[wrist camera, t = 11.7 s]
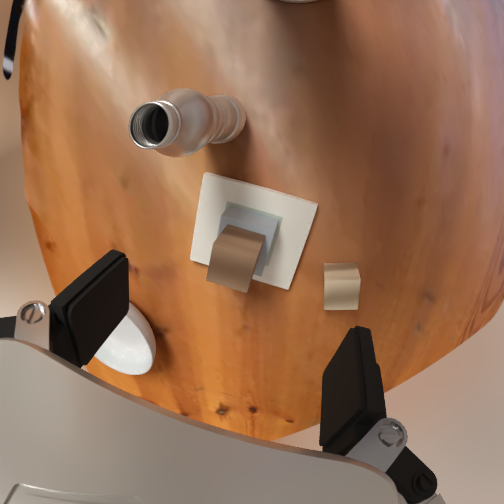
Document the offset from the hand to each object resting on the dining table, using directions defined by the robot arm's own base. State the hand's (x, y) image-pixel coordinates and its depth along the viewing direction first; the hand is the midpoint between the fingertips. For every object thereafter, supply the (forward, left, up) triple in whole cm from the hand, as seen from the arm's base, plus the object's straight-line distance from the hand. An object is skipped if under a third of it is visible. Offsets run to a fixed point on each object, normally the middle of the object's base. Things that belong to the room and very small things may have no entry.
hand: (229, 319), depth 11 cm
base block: (+10, -3, -29) cm, 31 cm away
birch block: (+13, +12, -30) cm, 35 cm away
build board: (+10, -3, -30) cm, 32 cm away
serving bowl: (+38, -25, -31) cm, 55 cm away
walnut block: (+10, -3, -25) cm, 27 cm away
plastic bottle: (-5, -10, -31) cm, 32 cm away
